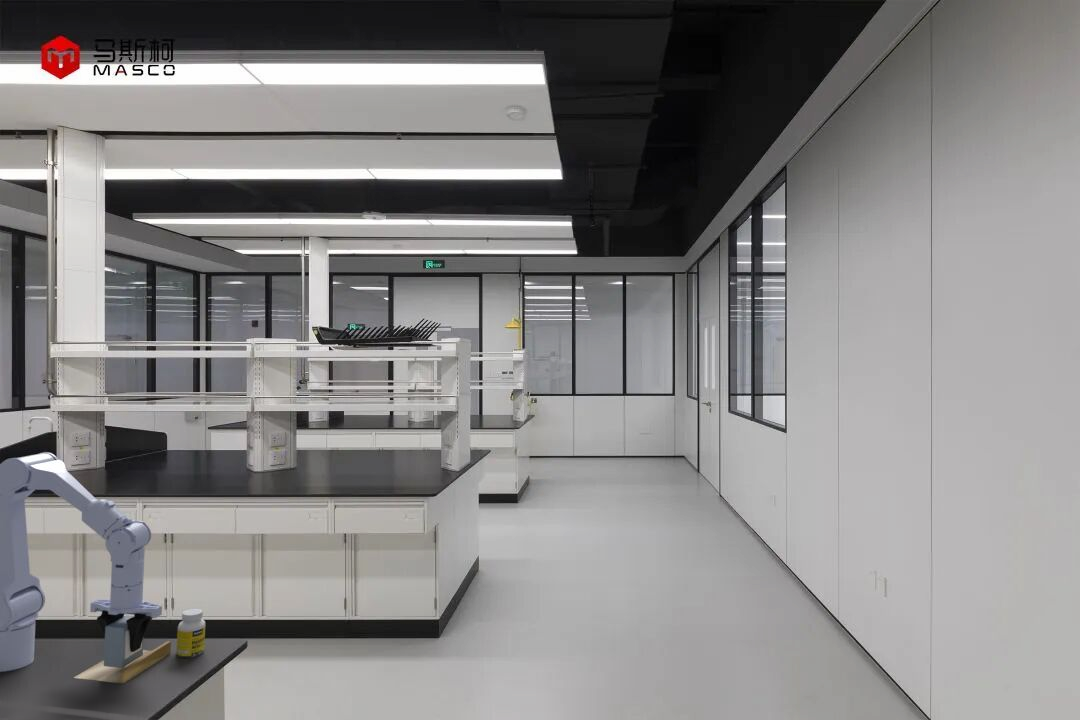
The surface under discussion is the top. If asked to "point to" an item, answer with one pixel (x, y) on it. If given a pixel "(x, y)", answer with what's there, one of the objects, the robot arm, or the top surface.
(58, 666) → the top surface
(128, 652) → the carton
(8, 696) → the top surface
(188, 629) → the supplement bottle
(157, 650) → the shelf board
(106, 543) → the robot arm
